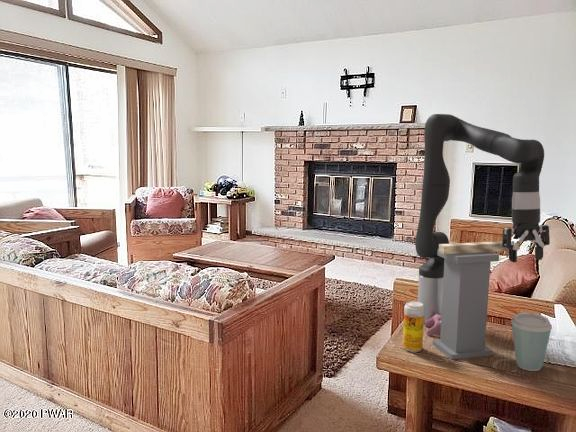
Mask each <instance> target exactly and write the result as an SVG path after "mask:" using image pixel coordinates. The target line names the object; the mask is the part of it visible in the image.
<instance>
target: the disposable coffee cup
mask: <svg viewBox="0 0 576 432" xmlns="http://www.w3.org/2000/svg"><path fill="white" fill-rule="evenodd" d="M510 323H511V327H512V338H513V345H514V355H515V362H516V364H517V367H518V368H520V369H521V370H525V371H529V372H538V371H540V370H541V369H542V367H543V365H544V361H545V356H546V351H547V348H548V345H549V339H550V335H551V331H552V329H553V326H552V323H551V322H550V319H548V318H547V317H546V316H544V315H542V314H538V313H533V312H520V313H519V312H518V313H516V314H515V315H514V316H513V318H511V320H510Z"/></svg>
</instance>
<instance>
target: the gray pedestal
mask: <svg viewBox="0 0 576 432" xmlns="http://www.w3.org/2000/svg"><path fill="white" fill-rule="evenodd" d="M437 255H438V256H440V257H443V258H445V259H444V278H443V296H442V315H441V332H439V333H440V335H439V338H440V339H434V340H432V346H434V347H435V348H436V349H437V350H439V351H440V352H441V353H443V354H444V355H445V356H446V357H447V358H449V359H451V360H460V359H468V358H469V359H470V358H478V357H488V356H493V350H492V349H490V348H489V347H488V346H486V336H487V335H486V334H487V333H486V332H487V319H488V307H489V305H488V304H489V293H490V292H489V289H490V278H491V277H490V276H491V274H490V273H491V263H493V262H499V259H500V254H498V253H495V252H479V253H460V254H442V253H439V249H438V251H437Z"/></svg>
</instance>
